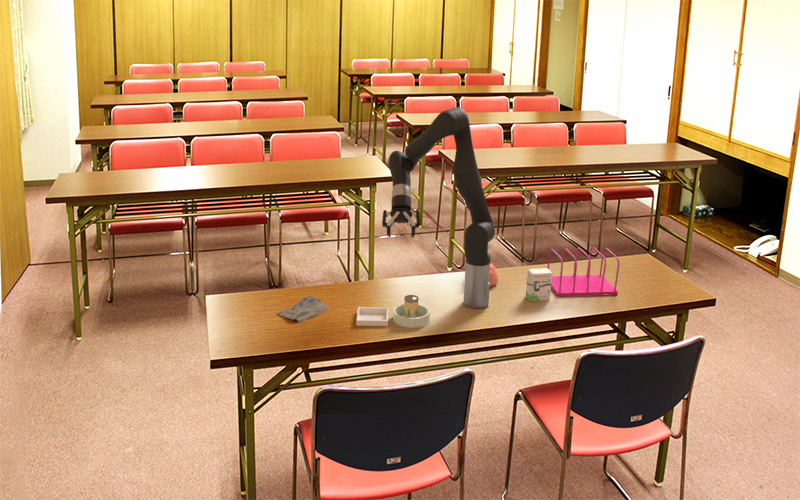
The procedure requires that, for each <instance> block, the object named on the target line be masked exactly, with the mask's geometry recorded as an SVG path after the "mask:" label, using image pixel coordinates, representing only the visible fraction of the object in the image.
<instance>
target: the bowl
mask: <svg viewBox="0 0 800 500" xmlns="http://www.w3.org/2000/svg"><path fill="white" fill-rule="evenodd" d="M392 311H393V312H392V322H393V323H394V324H396V325H398V326H399V327H403V328H409V329H415V328H417V329H418V328H422V327H425V326H427V324H429V323H430V316H431V315H430V314H431V310H430V308H428V307H427V306H426V305H424V304H421V303H418V317H417V318H407V317H404V303H401V304H399V305H395V307H393V309H392Z"/></svg>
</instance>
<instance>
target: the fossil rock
mask: <svg viewBox="0 0 800 500" xmlns="http://www.w3.org/2000/svg"><path fill="white" fill-rule="evenodd" d="M329 309H330V308H329V306H328V305H326V304H324V303H323V302H322V300H320V299H319V298H317V297H315V296H305V297H304V298H302V299H301V300H300V301H298V302H297V303H296V304H295V305H293V307H292V308H289V309H283V310H280V311H278V312H279V314H280V315H279V314H278V315H279V316H281V315H282V316H281V317H283V316H284V317H286V318H285V319H287V318H288V320H290V319H291V321H294V322H295V321H296V322H297V321H298V323H300V321H301V322H304V321H306V320H309V319H310V318H313V317H318V316H319V315H320V314H322V313H325V312H328V311H329ZM284 317H283V318H284Z"/></svg>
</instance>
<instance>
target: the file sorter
mask: <svg viewBox="0 0 800 500" xmlns="http://www.w3.org/2000/svg"><path fill="white" fill-rule="evenodd" d="M578 250H579V251H580V252H582V254H584V255H585V257H587V259H588V263H587V269H586V270H587V271H586V274H585V275H583V274H582V275H581V274H580V275H579V274H578V275H577V271H578V261H577V257H578ZM593 250H595V252H597V253H598V254H599V255H600V256H601V260H600V269H599V274H591V265H592V264H591V263H592V262H591V261H592V260H591V259H592V258H591V257H592V251H593ZM605 250H606V251H608V253H609V254H610V255H612V256H613V257H614V258H615V259H616V261H617V269H616V275H615V280H614V281H615V282H614V285H612V283H611V282H610V281H608V280H607V278H605V274H606V268H607V258H606V257H605V255H604V254H605ZM551 251H552V252H553V253H554V254H555V255H556V256H557V257H558V258H559V260H560V274H559V275H552V282H551V290H552V292H554V294H555V295H556V297H558V298H560V297H562V296H563V297H587V296H586V295H597V296H605V295H604V294H618V293H619V291H618V289H617V285H618V284H617V283H618V278H619V271H620V270H619V269H620V260H619V257H618V256H617V255H616V254H615V253H614V252H612V251H611V250H610V249H609V248H608V247H603V249H602V253H601V252H600V251H599V250H598V249H597V248H596V247H595V246H592V247H590V251H589V255H588V254H587V252H585V251H584V249H582V248H581V247H576V249H575V253H574V254H575V255H574V254H572V252H570V250H569V249H568V248H566V247H564V248H563V249H562V255H560V254H559V253H558V252H557V251H556V250H555V249H554V248H552V247H551V248H549V250H548V257H547V258H548V259H547V268H548V269H549V270H550V262H551V261H550V260H551ZM565 251H566V252H567V253H568V254H569V255H570V256H571V257H572V258H573V259H574V264H573V274H572V275H563V269H564V256H565ZM603 264H604V267H603ZM602 270H603V272H602ZM618 295H619V294H618Z"/></svg>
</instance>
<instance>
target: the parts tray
mask: <svg viewBox="0 0 800 500" xmlns="http://www.w3.org/2000/svg"><path fill="white" fill-rule="evenodd" d="M355 323H356V326H359V327H360V326H361V327H367V326H368V327H388V326H389V307H380V306H379V307H378V306H377V307H375V306H374V307H371V306H370V307H368V306H365V307H364V306H358V307H357V311H356V322H355Z"/></svg>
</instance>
